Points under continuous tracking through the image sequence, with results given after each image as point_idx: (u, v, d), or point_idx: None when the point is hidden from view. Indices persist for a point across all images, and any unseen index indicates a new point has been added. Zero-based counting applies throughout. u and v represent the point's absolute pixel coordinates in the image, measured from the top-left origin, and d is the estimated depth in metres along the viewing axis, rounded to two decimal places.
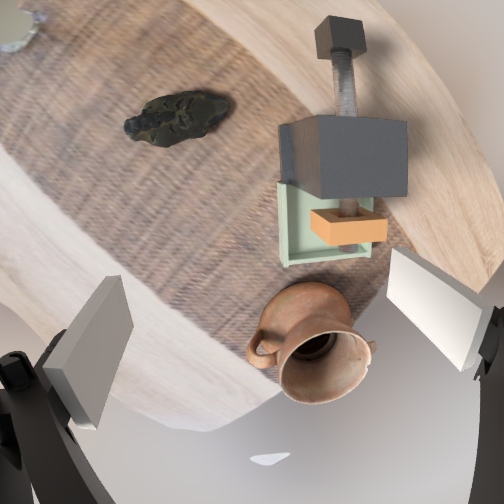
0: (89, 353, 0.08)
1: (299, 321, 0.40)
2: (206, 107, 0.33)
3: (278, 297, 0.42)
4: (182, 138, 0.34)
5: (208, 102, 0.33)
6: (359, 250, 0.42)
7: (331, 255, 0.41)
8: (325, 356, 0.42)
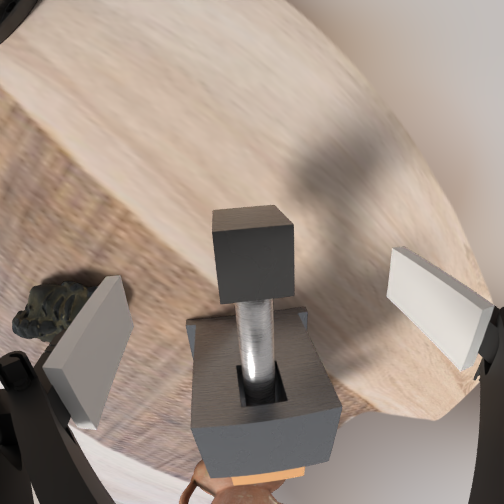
0: (89, 353, 0.08)
1: (226, 488, 0.31)
2: None
3: None
4: None
5: None
6: None
7: None
8: None
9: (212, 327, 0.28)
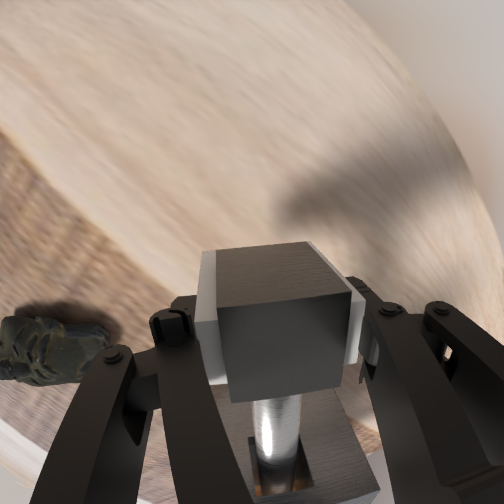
0: None
1: None
2: (69, 354, 0.18)
3: None
4: None
5: (72, 344, 0.18)
6: None
7: None
8: None
9: None
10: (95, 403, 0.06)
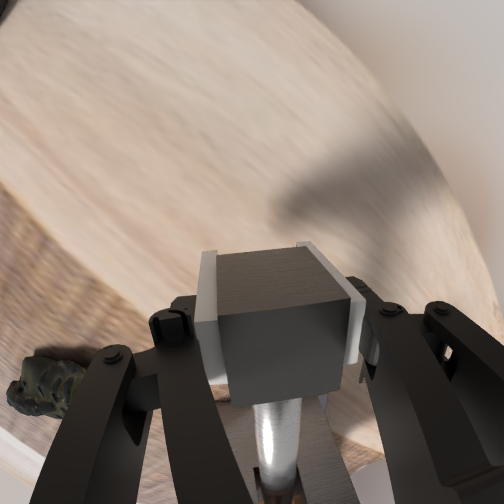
0: None
1: None
2: None
3: None
4: None
5: None
6: None
7: None
8: None
9: (224, 415, 0.23)
10: (95, 403, 0.06)
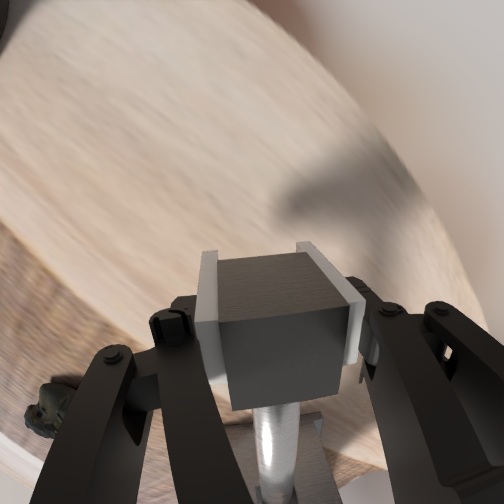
0: None
1: None
2: None
3: None
4: None
5: None
6: None
7: None
8: None
9: (228, 438, 0.24)
10: (95, 403, 0.06)
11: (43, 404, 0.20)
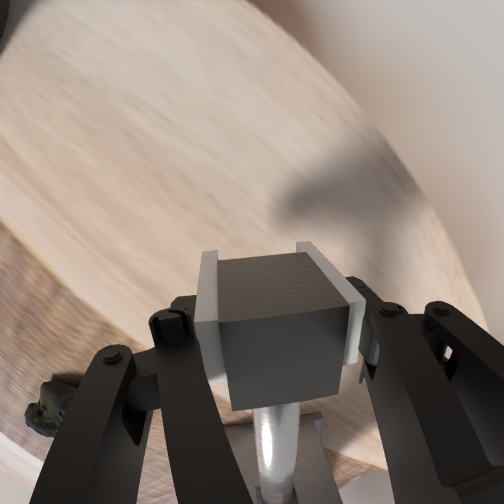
0: None
1: None
2: None
3: None
4: None
5: None
6: None
7: None
8: None
9: (228, 439, 0.24)
10: (95, 403, 0.06)
11: (44, 402, 0.20)
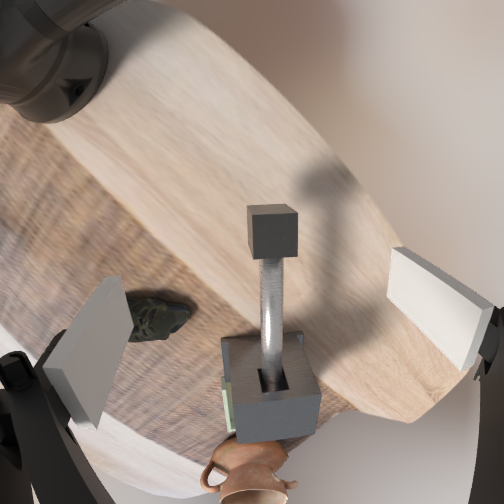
0: (89, 353, 0.08)
1: (238, 466, 0.44)
2: (167, 320, 0.38)
3: (225, 446, 0.46)
4: (147, 340, 0.38)
5: (170, 315, 0.38)
6: None
7: None
8: None
9: (239, 343, 0.41)
10: None
11: None
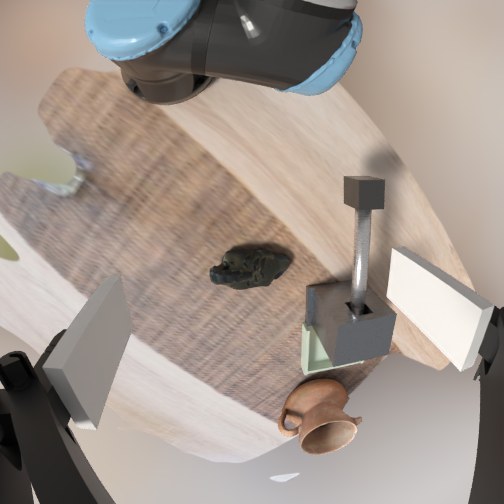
0: (89, 353, 0.08)
1: (312, 407, 0.55)
2: (274, 267, 0.48)
3: (299, 391, 0.58)
4: None
5: (276, 262, 0.49)
6: None
7: None
8: (328, 423, 0.58)
9: (323, 288, 0.52)
10: None
11: (231, 260, 0.47)
